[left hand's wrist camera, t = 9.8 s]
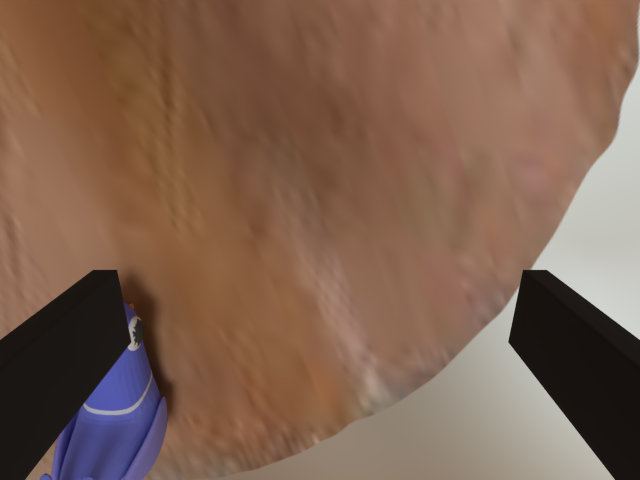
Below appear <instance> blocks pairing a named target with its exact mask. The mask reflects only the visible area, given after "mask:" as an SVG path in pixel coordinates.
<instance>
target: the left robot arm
mask: <svg viewBox="0 0 640 480" xmlns="http://www.w3.org/2000/svg"><path fill="white" fill-rule="evenodd" d="M130 344H131V337H130V332H129V327H128V322H127V317H126V312H125V307H124V302H123V297H122V292H121V288H120V283H119V278H118V273H117V270H93V271H91V272H90V273H89V274H87V275H86V276H85V277H83V278H82V279H81V280H79V281H78V282H77V283H75V284H74V285H73V286H71V287H70V288H69V289H67V290H66V291H65V292H63V293H62V294H61V295H59V296H58V297H57V298H55V299H54V300H53V301H51V302H50V303H49V304H47V305H46V306H45V307H43V308H42V309H41V310H40V311H38V312H37V313H36V314H34V315H33V316H32V317H30V318H29V319H28V320H26V321H25V322H24V323H22V324H21V325H20V326H18V327H17V328H16V329H14V330H13V331H12V332H10V333H9V334H8V335H6V336H5V337H4V338H2V339H1V340H0V480H25V479H26V478H27V476H28V475H29V474H30V472H31V471H32V470H33V469H34V467H35V466H36V465H37V463H38V462H39V461H40V460H41V458H42V457H43V456H44V454H45V453H46V452H47V451H48V449H49V448H50V447H51V445H52V444H53V443H54V441H55V440H56V439H57V438H58V436H59V435H60V434H61V432H62V431H63V430H64V429H65V427H66V426H67V425H68V423H69V422H70V421H71V420H72V418H73V417H74V416H75V414H76V413H77V412H78V411H79V409H80V408H81V407H82V405H83V404H84V403H85V402H86V400H87V399H88V398H89V396H90V395H91V394H92V393H93V391H94V390H95V389H96V387H97V386H98V385H99V383H100V382H101V381H102V380H103V378H104V377H105V376H106V374H107V373H108V372H109V371H110V369H111V368H112V367H113V365H114V364H115V363H116V362H117V360H118V359H119V358H120V356H121V355H122V354H123V353H124V351H125V350H126V349H127V347H128V346H129V345H130ZM509 344H510V345H511V346H512V347H513V348H514V350H515V351H516V353H517V354H518V355H519V356H520V358H521V359H522V360H523V362H524V363H525V364H526V365H527V367H528V368H529V369H530V371H531V372H532V373H533V374H534V376H535V377H536V378H537V380H538V381H539V382H540V383H541V385H542V386H543V387H544V389H545V390H546V391H547V393H548V394H549V395H550V396H551V398H552V399H553V400H554V401H555V403H556V404H557V405H558V407H559V408H560V409H561V411H562V412H563V413H564V414H565V416H566V417H567V418H568V419H569V421H570V422H571V423H572V425H573V426H574V427H575V429H576V430H577V431H578V432H579V434H580V435H581V436H582V438H583V439H584V440H585V441H586V443H587V444H588V445H589V447H590V448H591V449H592V451H593V452H594V453H595V454H596V456H597V457H598V458H599V460H600V461H601V462H602V463H603V465H604V466H605V467H606V469H607V470H608V471H609V472H610V474H611V475H612V476H613V478H614V479H615V480H640V340H639V339H638V338H636V337H635V336H634V335H632V334H631V333H630V332H628V331H627V330H626V329H624V328H623V327H622V326H620V325H619V324H618V323H616V322H615V321H614V320H612V319H611V318H610V317H608V316H607V315H606V314H604V313H603V312H602V311H600V310H599V309H598V308H596V307H595V306H594V305H593V304H591V303H590V302H589V301H587V300H586V299H585V298H583V297H582V296H581V295H579V294H578V293H577V292H575V291H574V290H573V289H571V288H570V287H569V286H567V285H566V284H565V283H563V282H562V281H561V280H559V279H558V278H557V277H555V276H554V275H553V274H551V273H550V272H549V271H547V270H523V273H522V278H521V283H520V288H519V293H518V298H517V302H516V307H515V312H514V317H513V322H512V327H511V332H510V337H509Z"/></svg>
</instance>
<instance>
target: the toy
mask: <svg viewBox="0 0 640 480" xmlns="http://www.w3.org/2000/svg"><path fill="white" fill-rule="evenodd" d="M123 302H124V301H123ZM124 307H125V312H126V317H127V322H128V327H129V332H130V337H131V344H130V345H129V346H128V347H127V349H126V350H125V351H124V353H123V354H122V355H121V356H120V358H119V359H118V360H117V362H116V363H115V364H114V365H113V367H112V368H111V369H110V371H109V372H108V373H107V374H106V376H105V377H104V378H103V380H102V381H101V382H100V383H99V385H98V386H97V387H96V389H95V390H94V391H93V393H92V394H91V395H90V396H89V398H88V399H87V400H86V402H85V403H84V404H83V405H82V407H81V408H80V409H79V411H78V412H77V413H76V414H75V416H74V417H73V418H72V420H71V421H70V422H69V423H68V425H67V426H66V427H65V429H64V430H63V431H62V432H61V434H60V435H59V436H58V440H57V444H56V449H55V453H54V460H53V467H52V477H51V476H50V475H48V474H47V473H46V474H44V475H42V476H41V477H40V480H121V479H122V478H123V477H124V478H123V480H142V479H143V478H144V477H145V476H146V475H147V473H148V472H149V471H150V469H151V468H152V466H153V464H154V463H155V461H156V459H157V457H158V454H159V452H160V450H161V447H162V444H163V440H164V436H165V432H166V427H167V405H166V399H165V397H164V396H163V397H162V398H161V396H160V393H159V390H158V387H157V384H156V382H155V379H154V377H153V374H152V370H151V367H150V364H149V360H148V357H147V354H146V350H145V347H144V343H143V335H144V327H143V323H142V320H141V319H140V318H139V317H138V316H137V314H136V313H135V311H134V304H133V303H130V304H127V303H125V302H124Z"/></svg>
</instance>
